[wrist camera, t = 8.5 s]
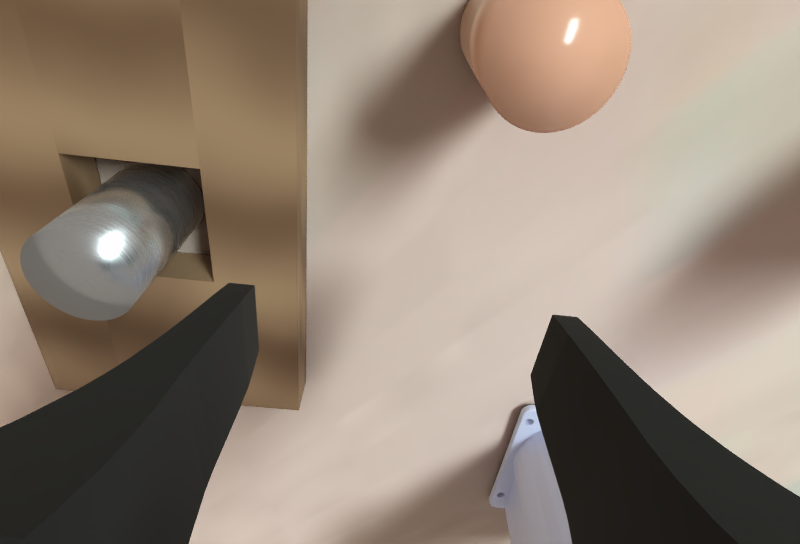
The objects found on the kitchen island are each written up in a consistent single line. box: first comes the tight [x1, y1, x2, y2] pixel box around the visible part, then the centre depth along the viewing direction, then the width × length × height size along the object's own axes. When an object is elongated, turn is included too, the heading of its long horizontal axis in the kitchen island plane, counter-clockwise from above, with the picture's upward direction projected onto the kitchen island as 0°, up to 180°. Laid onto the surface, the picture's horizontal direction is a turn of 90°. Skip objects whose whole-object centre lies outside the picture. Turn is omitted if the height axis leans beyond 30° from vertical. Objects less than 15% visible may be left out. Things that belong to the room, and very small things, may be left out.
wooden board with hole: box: [0, 0, 307, 410], centre depth 19 cm, size 20×12×2 cm, turn 174°
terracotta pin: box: [460, 0, 631, 133], centre depth 14 cm, size 4×4×6 cm
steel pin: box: [20, 162, 205, 321], centre depth 18 cm, size 4×4×6 cm
